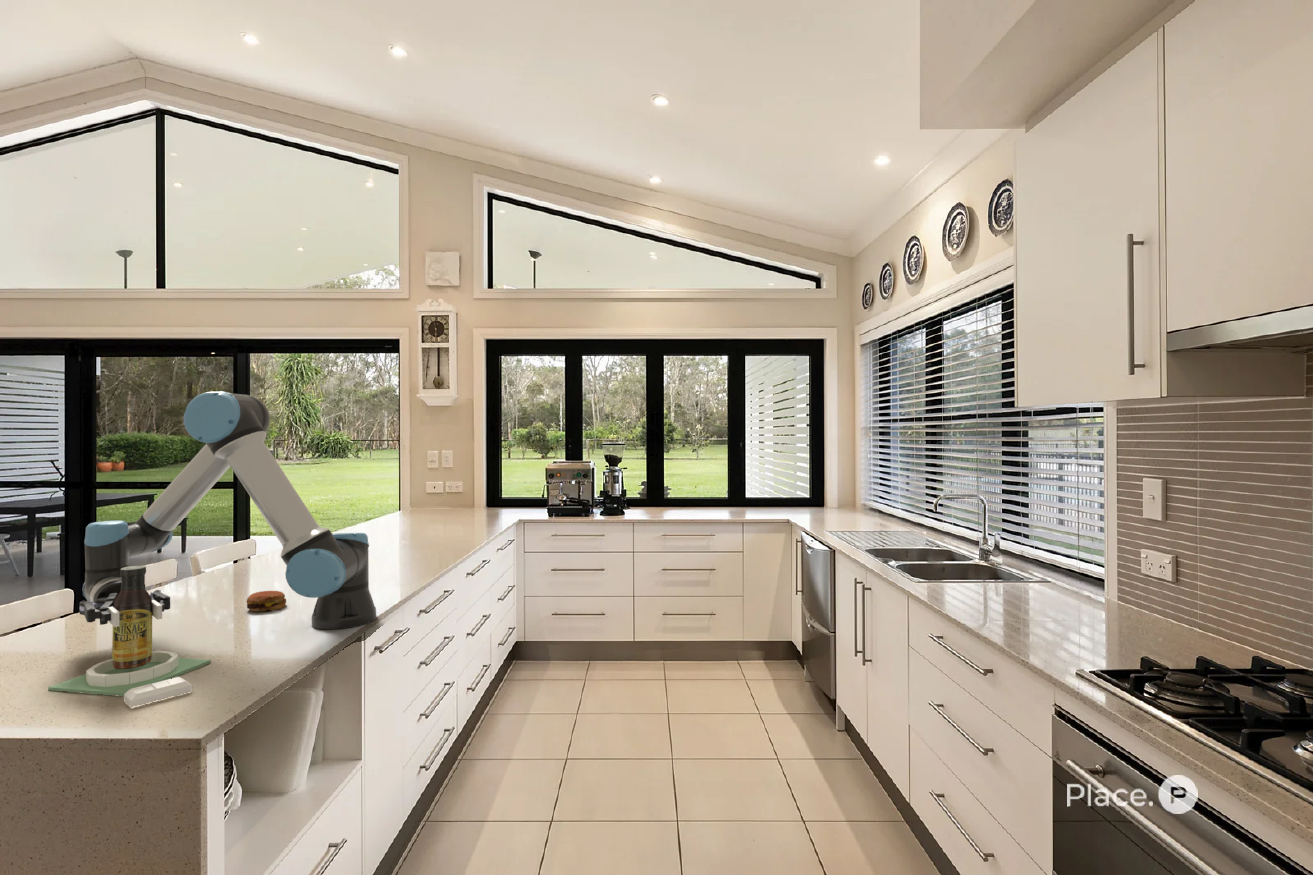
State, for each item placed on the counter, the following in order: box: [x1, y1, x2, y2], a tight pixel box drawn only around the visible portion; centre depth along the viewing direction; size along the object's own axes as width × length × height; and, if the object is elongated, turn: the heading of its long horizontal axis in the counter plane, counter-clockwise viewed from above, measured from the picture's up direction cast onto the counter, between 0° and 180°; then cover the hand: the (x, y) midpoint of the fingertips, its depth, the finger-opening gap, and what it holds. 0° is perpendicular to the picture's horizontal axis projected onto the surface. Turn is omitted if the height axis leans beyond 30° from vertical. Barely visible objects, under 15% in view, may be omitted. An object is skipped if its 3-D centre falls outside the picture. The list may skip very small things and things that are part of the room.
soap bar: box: [123, 676, 193, 707], centre depth 118 cm, size 5×9×3 cm, turn 142°
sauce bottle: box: [111, 565, 153, 669], centre depth 128 cm, size 7×6×20 cm
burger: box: [246, 590, 287, 613], centre depth 179 cm, size 10×9×5 cm
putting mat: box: [47, 650, 212, 697], centre depth 129 cm, size 18×18×3 cm
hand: (138, 615), depth 125 cm, fingers closed on sauce bottle, 6 cm apart
